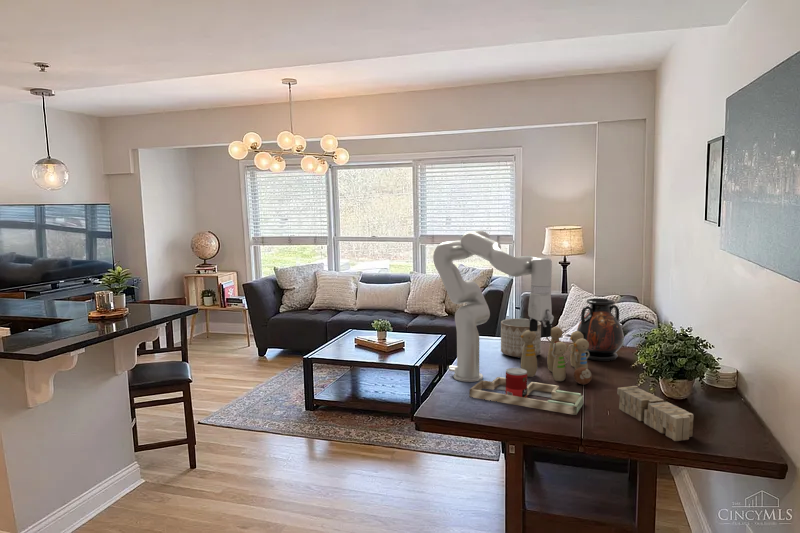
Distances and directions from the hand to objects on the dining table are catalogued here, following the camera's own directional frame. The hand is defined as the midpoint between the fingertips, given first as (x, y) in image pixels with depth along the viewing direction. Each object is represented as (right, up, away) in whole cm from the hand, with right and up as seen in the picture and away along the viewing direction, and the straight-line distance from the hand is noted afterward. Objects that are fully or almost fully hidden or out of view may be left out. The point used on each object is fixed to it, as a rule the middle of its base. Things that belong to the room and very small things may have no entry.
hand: (539, 333), depth 206 cm
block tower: (+31, -27, -26) cm, 49 cm away
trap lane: (-5, -24, -1) cm, 25 cm away
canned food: (-10, -25, -2) cm, 27 cm away
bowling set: (+14, -21, +29) cm, 39 cm away
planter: (+6, -18, +60) cm, 63 cm away
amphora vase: (+43, -18, +54) cm, 71 cm away
